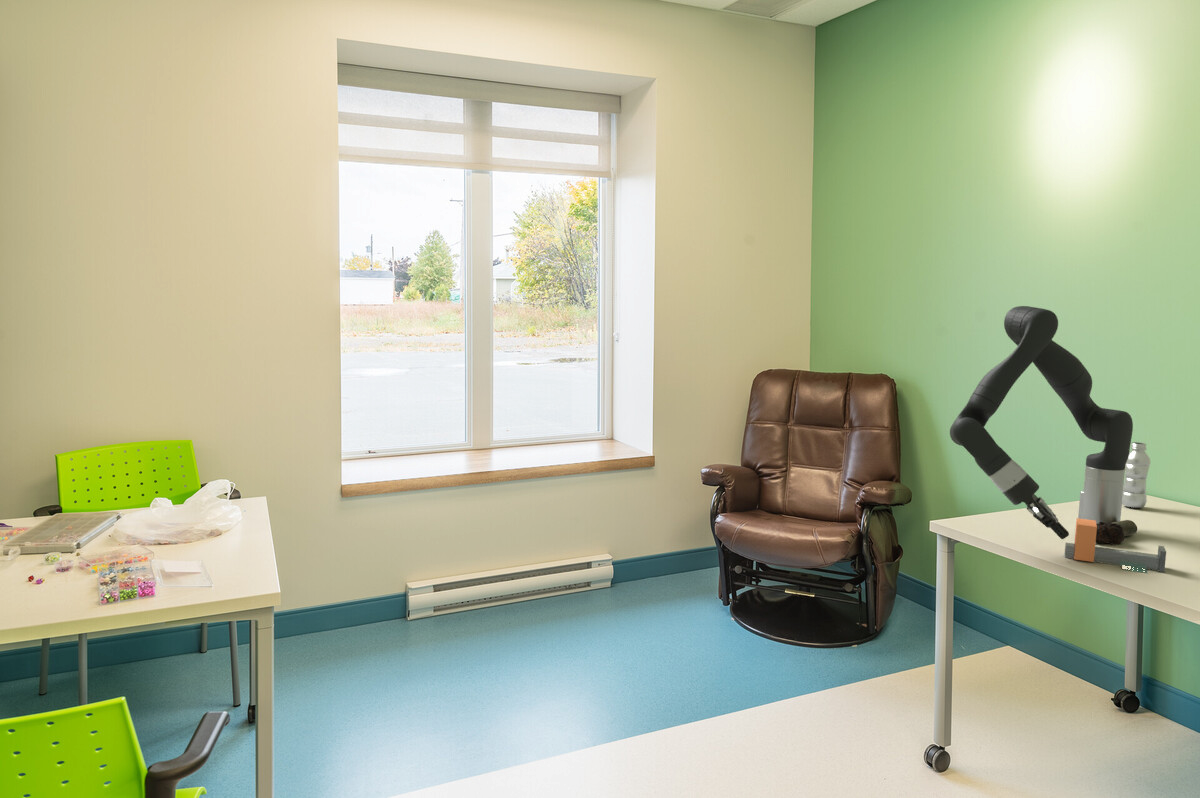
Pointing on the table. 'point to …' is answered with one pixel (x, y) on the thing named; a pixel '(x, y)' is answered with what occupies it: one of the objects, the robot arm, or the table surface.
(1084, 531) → the sleeve
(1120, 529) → the dark brown rough lump
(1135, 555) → the bar
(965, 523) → the table surface
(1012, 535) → the table surface
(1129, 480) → the plastic bottle
